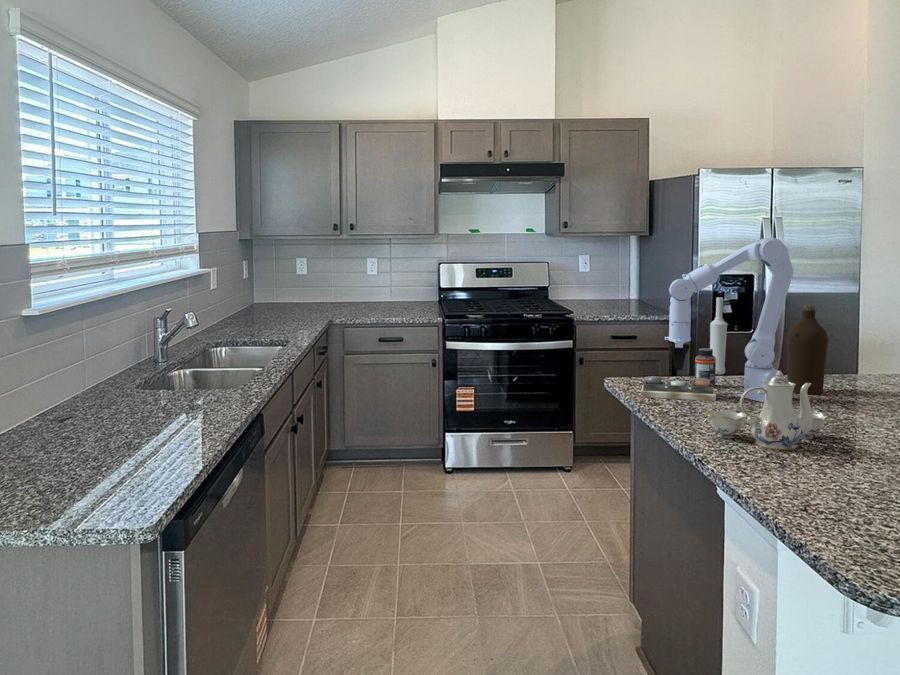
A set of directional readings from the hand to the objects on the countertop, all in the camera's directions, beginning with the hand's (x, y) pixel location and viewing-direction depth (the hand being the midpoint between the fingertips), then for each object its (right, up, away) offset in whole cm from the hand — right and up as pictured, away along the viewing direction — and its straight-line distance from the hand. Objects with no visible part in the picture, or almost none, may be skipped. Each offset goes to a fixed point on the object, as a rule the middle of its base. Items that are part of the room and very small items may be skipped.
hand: (678, 369), depth 218 cm
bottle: (+24, -3, +37) cm, 44 cm away
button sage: (0, -5, +1) cm, 6 cm away
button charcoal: (-6, -4, +2) cm, 8 cm away
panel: (0, -7, +1) cm, 7 cm away
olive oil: (+38, -7, +5) cm, 39 cm away
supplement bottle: (+12, -6, +15) cm, 20 cm away
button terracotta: (+6, -5, -1) cm, 8 cm away
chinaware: (+6, -14, -49) cm, 51 cm away
